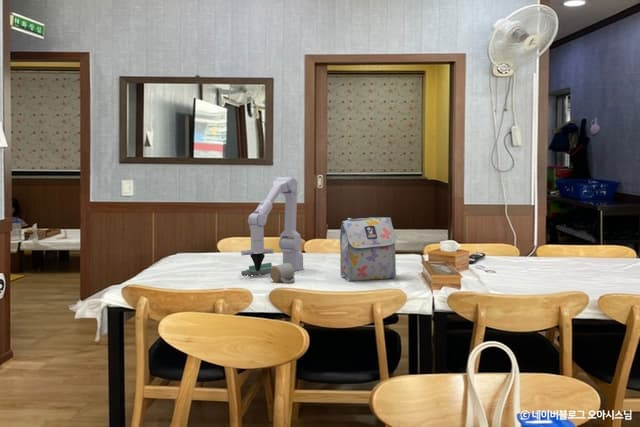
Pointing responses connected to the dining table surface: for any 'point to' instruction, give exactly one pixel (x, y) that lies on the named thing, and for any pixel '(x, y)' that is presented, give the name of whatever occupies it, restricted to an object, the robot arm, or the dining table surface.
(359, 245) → the lunch bag
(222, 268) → the dining table surface
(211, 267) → the dining table surface
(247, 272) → the grey open box
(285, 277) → the ceramic mug
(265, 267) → the cover
